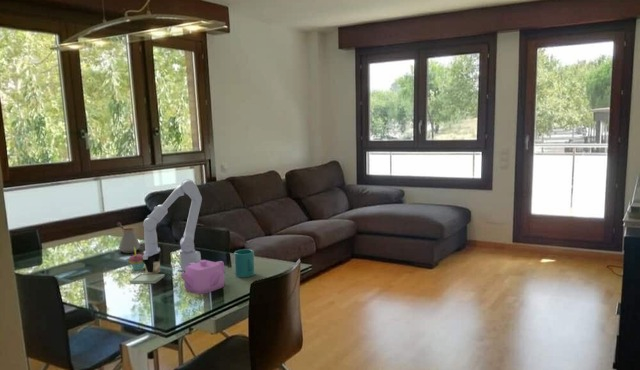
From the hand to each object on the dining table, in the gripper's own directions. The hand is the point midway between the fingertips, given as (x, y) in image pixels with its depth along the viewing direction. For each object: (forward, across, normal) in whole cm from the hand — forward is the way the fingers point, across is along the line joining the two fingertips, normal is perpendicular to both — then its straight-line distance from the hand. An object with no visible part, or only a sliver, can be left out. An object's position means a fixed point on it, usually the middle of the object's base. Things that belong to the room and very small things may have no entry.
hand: (152, 270), depth 228 cm
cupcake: (+2, -7, -11) cm, 13 cm away
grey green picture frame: (+1, +10, +2) cm, 10 cm away
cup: (+2, +3, +47) cm, 47 cm away
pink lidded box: (+2, +21, +33) cm, 39 cm away
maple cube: (+1, 0, 0) cm, 1 cm away
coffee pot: (+2, -43, -36) cm, 56 cm away
